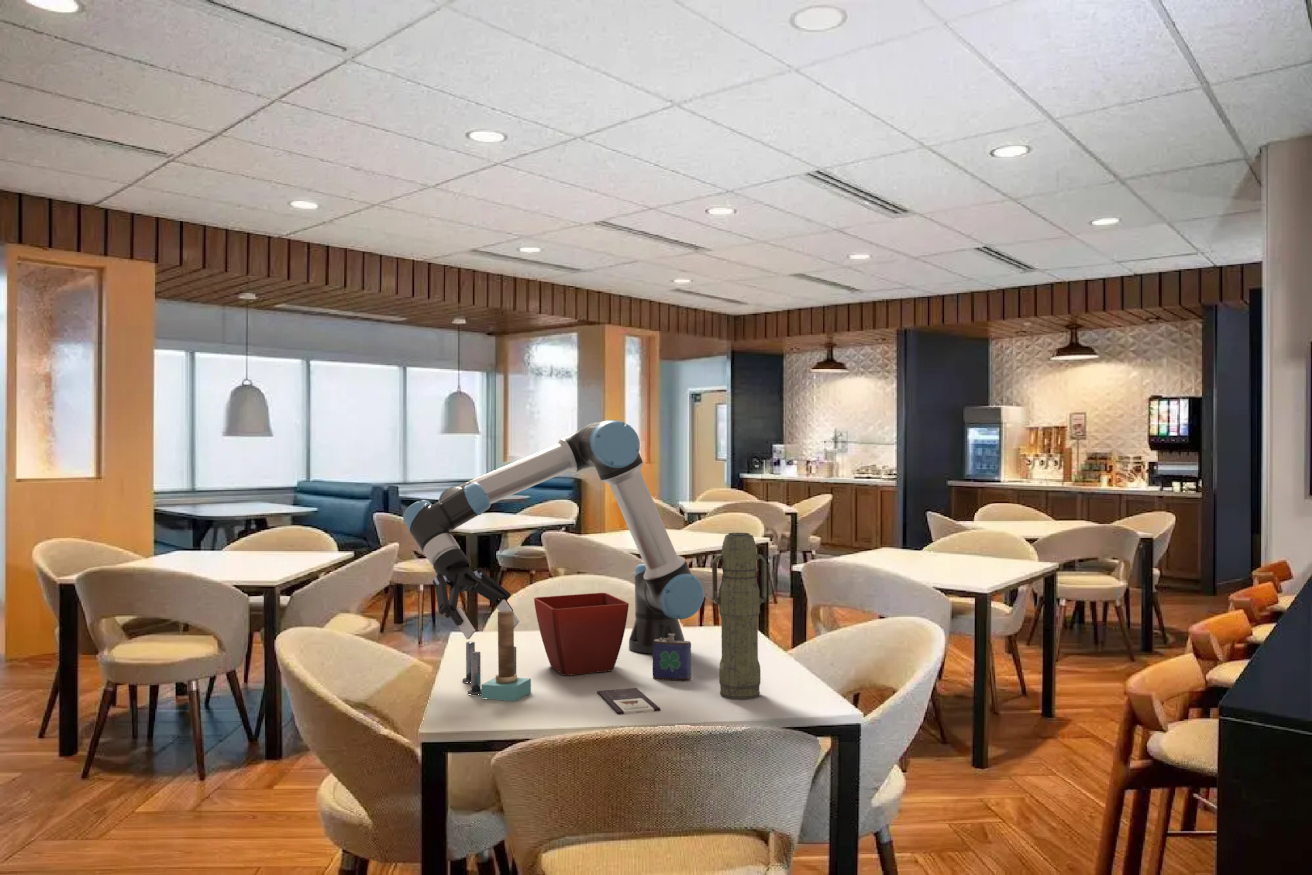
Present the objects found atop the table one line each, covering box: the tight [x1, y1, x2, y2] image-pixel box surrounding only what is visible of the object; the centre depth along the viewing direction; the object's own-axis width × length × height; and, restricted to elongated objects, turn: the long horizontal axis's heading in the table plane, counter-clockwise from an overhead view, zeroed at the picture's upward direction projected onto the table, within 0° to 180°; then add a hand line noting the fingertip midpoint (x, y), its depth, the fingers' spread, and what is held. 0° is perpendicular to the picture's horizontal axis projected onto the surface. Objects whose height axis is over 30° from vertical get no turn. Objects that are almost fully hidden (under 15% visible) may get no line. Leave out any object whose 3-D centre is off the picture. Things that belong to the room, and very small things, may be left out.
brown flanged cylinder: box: [495, 610, 518, 684], centre depth 207 cm, size 5×5×15 cm
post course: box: [462, 641, 517, 696], centre depth 213 cm, size 15×14×9 cm
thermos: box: [711, 532, 768, 701], centre depth 207 cm, size 9×12×35 cm
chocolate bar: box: [596, 687, 661, 715], centre depth 201 cm, size 9×1×18 cm
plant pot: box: [533, 592, 630, 677], centre depth 232 cm, size 19×19×17 cm
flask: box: [652, 633, 692, 682], centre depth 221 cm, size 9×3×11 cm, turn 74°
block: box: [480, 676, 532, 702], centre depth 207 cm, size 8×8×3 cm
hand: (494, 630), depth 209 cm, fingers open, 13 cm apart
